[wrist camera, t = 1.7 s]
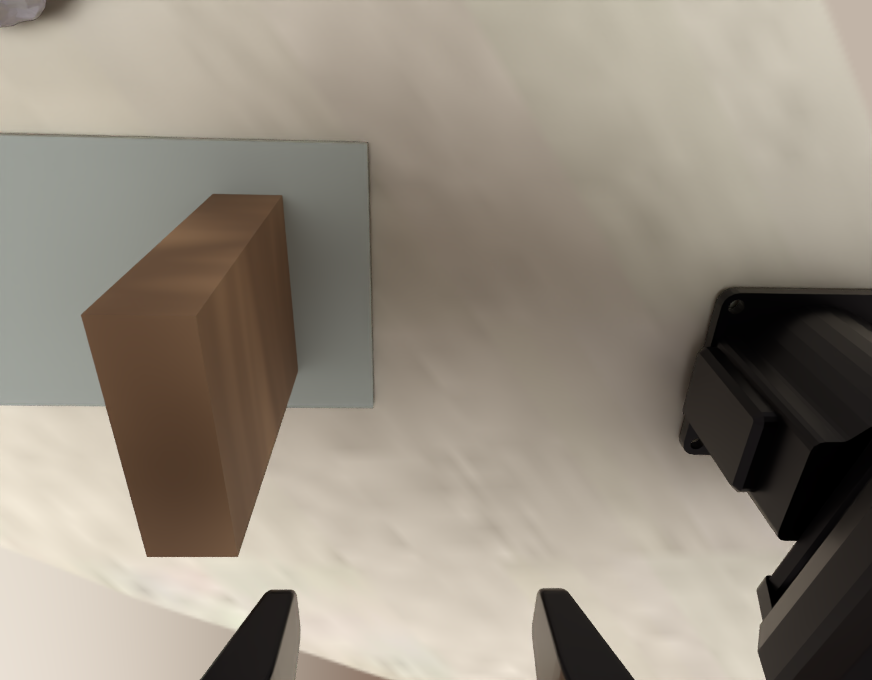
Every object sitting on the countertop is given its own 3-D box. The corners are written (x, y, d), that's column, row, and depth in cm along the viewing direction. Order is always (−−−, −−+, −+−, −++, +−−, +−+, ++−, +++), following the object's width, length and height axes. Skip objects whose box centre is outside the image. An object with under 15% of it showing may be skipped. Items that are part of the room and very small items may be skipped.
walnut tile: (282, 195, 18) (195, 316, 11) (298, 370, 21) (237, 556, 14) (210, 193, 18) (76, 314, 11) (236, 370, 21) (143, 556, 14)
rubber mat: (367, 142, 18) (366, 144, 17) (373, 403, 22) (373, 407, 22) (-177, 129, 17) (-185, 130, 17) (-61, 399, 21) (-67, 404, 21)
